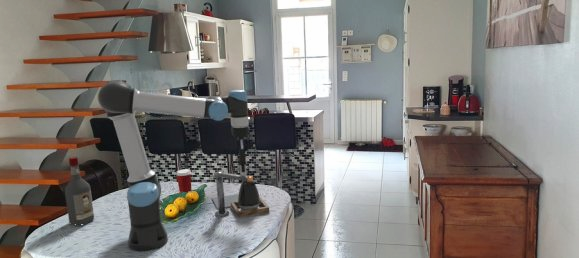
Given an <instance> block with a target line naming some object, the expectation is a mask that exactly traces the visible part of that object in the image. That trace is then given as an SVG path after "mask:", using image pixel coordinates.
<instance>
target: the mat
mask: <svg viewBox="0 0 579 258" xmlns="http://www.w3.org/2000/svg"><path fill="white" fill-rule="evenodd" d="M238 195H239V193H236V194H229V195H224V201H225V209H229V208H231V202H235V201H238ZM211 200H212V202H213V204H214V206H215V208H216V210H217V211H219V210H218V197H217V196H216V197H212V198H211Z"/></svg>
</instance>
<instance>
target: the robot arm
mask: <svg viewBox="0 0 579 258" xmlns="http://www.w3.org/2000/svg"><path fill="white" fill-rule="evenodd" d="M97 101H98V104H99V106H100V107H101V108H102V109H103V110H104V111H105V114H106V117H107V118H108V119H110V120H111V121H112V122H113V126H114V128H115V129H114V130H115V132H116V136H117V138H118V142H119V145H120V148H121V151H122V155H123V158H124V162H125V164H126V165H125V166H126V168H127V171H128V174H129V176H128V178H127V180H126V181H127V184H128V190H127V191H126V193H127V194H126V199H127V204H128V205H127V206H128V210H129V211H128V212H129V220H130V228H129V229H130V231H129V235H128V239H127V245H128V248H129V249H130V250H133V251H138V252H140V251H141V252H144V251H151V250H154V249H158V248H160V247H163V246H164V245H165V244H167V242H168V240H169V236H168V232H167V230H166V228H165V226H164V224H163V222H162V214H161V205H160V204H161V203H160V201H161V194H162V185H161V184H160V182H159V180H158V177H157V174H156V171H155V170H152V169H151V167H150V163H149V160H148V157H147V153H146V151H145V146H144V143H143V139H142V136H141V133H140V129H139V125H138V123H137V120H136V113H137V112H138V113H139V112H140V113H151V114H159V115H171V116H182V117H192V118H204V119H211V120H214V121H223V120H224V119H225V118H226V117H228V114H229V115H230V125H231V136H233V137H237V138H236V144H237V146H236V147H237V151H238V162H239V163H237V166H239V175H243V176H248V175H247V174H248V173H247V163H248V161H246V160H247V159H246V149H247V147H246V144H247V140H246V138H245V137H247V136H249V135H250V126H249V124H250V123H249V122H250V120H251V118H250V117H249V107H248V106H249V105H248V103H249V102H248V94H247V91H246V90H244V89H235V90H230V91H229V93H228V95H223V96H207V97H201V98H200V97H192V96H191V97H189V96H185V95H184V96H183V95H172V94H164V93H157V92H156V93H155V92H154V93H153V92H146V91H139V90H138V89H137V88H133V87H131V85H129V84H128V83H127V82H125V81H123V80H119V79H116V80H112V81H108V82H107V83H105V84H104V85H103V86H101V88H100V89H99V91H98V94H97Z"/></svg>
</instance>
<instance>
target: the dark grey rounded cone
mask: <svg viewBox="0 0 579 258" xmlns="http://www.w3.org/2000/svg"><path fill="white" fill-rule="evenodd" d="M241 181H242V182H241V184H240V186H239V190H238V194H239V195H238V204H239V206H240V207H239V208H240V209H241V211H244V210H250V209H256V208H259V206H260V204H259V203H260V194H259V190H258V187H257V184H258V182H257V181H254V180H253V181H252V182H247V181H244V180H241Z"/></svg>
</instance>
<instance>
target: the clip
mask: <svg viewBox="0 0 579 258" xmlns="http://www.w3.org/2000/svg"><path fill="white" fill-rule="evenodd" d="M213 177H214V178H216V177H223V178H226V179H233V180H239V181H243V180H244V181H247V182H252V181H254V176H252V175H249V176H248V175H247V176H243V175H240V174H235V173H227V172H225V171H223V170H220V171H215V172H213Z"/></svg>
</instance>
